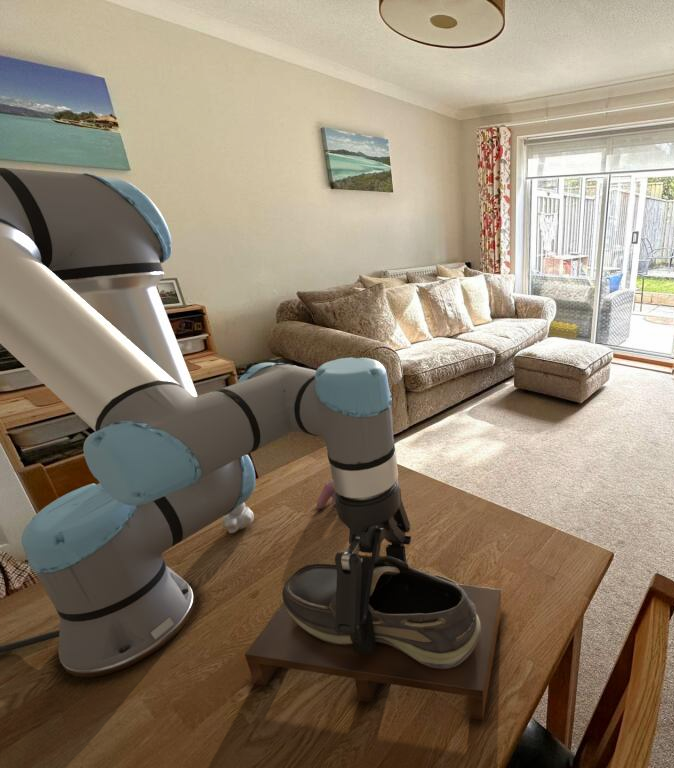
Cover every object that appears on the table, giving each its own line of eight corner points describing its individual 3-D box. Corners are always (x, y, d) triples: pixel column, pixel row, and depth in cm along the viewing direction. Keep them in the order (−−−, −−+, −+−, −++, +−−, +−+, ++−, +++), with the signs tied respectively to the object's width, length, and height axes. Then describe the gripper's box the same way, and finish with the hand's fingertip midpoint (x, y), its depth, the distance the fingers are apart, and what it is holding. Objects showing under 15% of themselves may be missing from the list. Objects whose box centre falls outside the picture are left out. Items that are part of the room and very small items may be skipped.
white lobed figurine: (261, 516, 86) (253, 485, 83) (247, 538, 80) (238, 505, 77) (233, 518, 85) (224, 487, 82) (217, 541, 79) (207, 508, 76)
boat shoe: (318, 571, 66) (307, 518, 62) (491, 605, 61) (492, 550, 57) (268, 632, 56) (251, 574, 52) (470, 680, 51) (469, 619, 47)
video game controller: (365, 512, 90) (370, 481, 91) (353, 516, 86) (359, 483, 86) (327, 504, 92) (331, 474, 93) (313, 509, 88) (318, 476, 88)
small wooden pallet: (254, 683, 55) (244, 654, 53) (316, 591, 69) (310, 565, 67) (482, 720, 52) (482, 690, 50) (500, 616, 66) (501, 589, 64)
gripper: (378, 435, 61) (390, 548, 69) (275, 549, 39) (312, 694, 47) (426, 439, 60) (433, 553, 68) (348, 558, 38) (372, 704, 47)
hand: (383, 611), depth 58 cm, fingers closed on boat shoe, 11 cm apart
